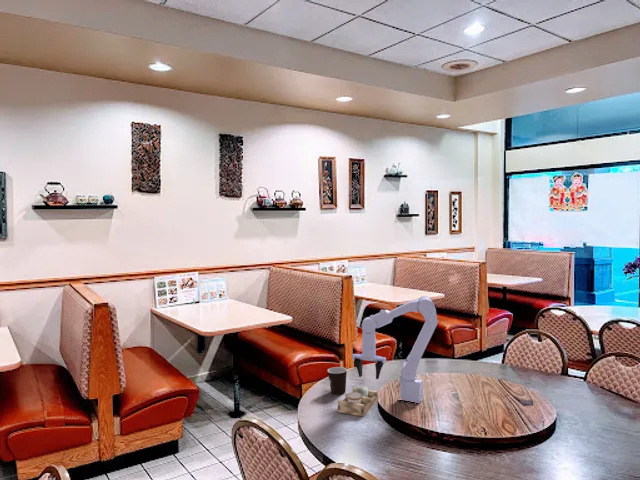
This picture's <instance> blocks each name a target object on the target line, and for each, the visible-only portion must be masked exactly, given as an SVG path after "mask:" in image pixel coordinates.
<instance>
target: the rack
mask: <svg viewBox="0 0 640 480" xmlns="http://www.w3.org/2000/svg"><path fill="white" fill-rule="evenodd" d="M352 392H357V393H360V394H361V404H358V403H352V402H348V394H349V393H344V394H345V398H344V399H342V400H340V399H338V400H337V413H342V414H345V415H346V414H347V415H353V416H356V417H358V416H359V417H365V416H366V414H367V413H368V412H369V411H370V410H371V409H372V407H374V405H375V404H376V403H377V402H378V401H377V399H379V398H378V394H379V393H378V391H376V390H370V389H369V388H368V387H367V386H365V385H364V386H363V385H361V386H360V385H359V386H356V387H353V388H352Z"/></svg>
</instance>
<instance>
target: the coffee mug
mask: <svg viewBox="0 0 640 480" xmlns="http://www.w3.org/2000/svg"><path fill="white" fill-rule="evenodd" d="M347 371H348V369H347V368H346V367H344V366H343V367H342V366H335V367H329V368H327V375H328V381H329V388H330V393H331V394H332V395H334V396H335V395H336V396H339V395H343V394H346V389H347V376H348V375H347V373H348V372H347Z"/></svg>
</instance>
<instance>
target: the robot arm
mask: <svg viewBox="0 0 640 480" xmlns="http://www.w3.org/2000/svg"><path fill="white" fill-rule="evenodd" d="M411 312H413V313H416V314H417V313H418V312H419V313H420V314H421V315H422V316H423V319H424V321H425V322H424V324H423V325H422V328H421V330H420V332H419V334H418V335H417V339H416V340H415V342H414V344H413V346H412V349H411V351H410V352H409V354H408V355H407V357H406V359H405V360H403V361H402V363H401V366H400V376H399V396H400V398H401V399H403V400H406V401H412V402H413V401H415V403H414V404H416V403H419V404H420V403H421V402H422V400H423V399H424V381H423V380H422V379H419V378H418V376H417V369H418V367H419V365H420V364H419V363H420V362H421V358H422V357H423V355H424V353H425V350H426V349H427V346H428V344H429V342H430V340H431V338H432V336H433V334H434V333H435V329H436V328H437V325H438V323H439V322H438V315H437V309H436V307H435V304H434V302H433V300H432V298H431V297H429V296H428V295H423V296H420V297H419V298H418V297H417V298H414V299H412V300H409V301H408V302H406V303H403V304H401V305H399V306H398V307H395V308H394V309H391V310H388V309H381V310H379V312H378V313H376V314H371V315H369V316H367V317H365V318H364V319H363V320H362V323H361V329H362V332H361V333H362V336H361V343H362V344H361V346H362V347H361V353H353V354H352V355H351V356H352V357H351V359H352V360H353V364H354V365H355V367H356V370H357V373H358V377H359V378H361V377H362V376H363V361H368V362H375V364H374V367H375V380H379V379H380V374H381V372H382V368H383V366H384V365H385V363H387V357H385V356H381V355H376V354H377V352H376V349H377V347H376V344H377V341H376V339H377V337H376V329H379V328H381V327H384V326H386V325H388V324H391V323H392V322H393V319H394V318H397V317H399V316H400V317H401V316H402V315H405V314H407V313H411ZM420 401H421V402H420Z"/></svg>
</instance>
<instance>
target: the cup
mask: <svg viewBox="0 0 640 480" xmlns="http://www.w3.org/2000/svg"><path fill="white" fill-rule="evenodd" d="M347 394H348V402H352V403H358V404H361V394H360V393H357V392H353V391H352V392H349V393H347Z"/></svg>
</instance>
